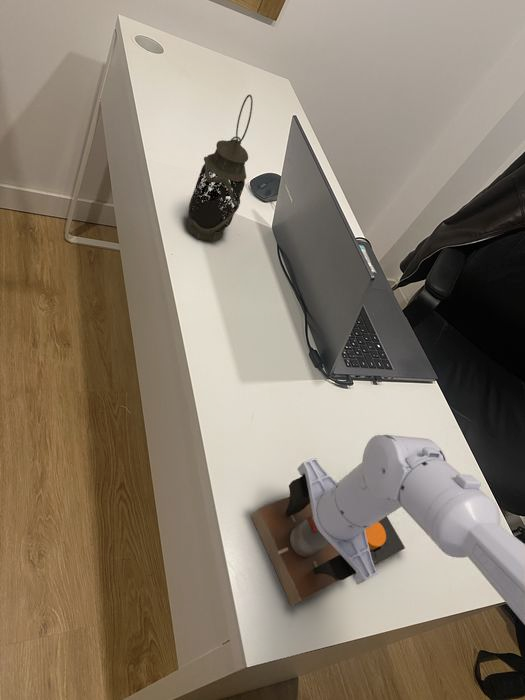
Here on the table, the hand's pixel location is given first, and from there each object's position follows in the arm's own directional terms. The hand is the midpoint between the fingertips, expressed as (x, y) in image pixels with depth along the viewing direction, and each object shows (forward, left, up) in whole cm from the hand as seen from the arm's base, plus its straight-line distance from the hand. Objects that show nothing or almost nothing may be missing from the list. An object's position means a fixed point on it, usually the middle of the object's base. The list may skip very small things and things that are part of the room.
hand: (305, 539), depth 64 cm
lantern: (+62, -13, -4) cm, 63 cm away
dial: (0, 0, -1) cm, 1 cm away
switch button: (-3, -9, 0) cm, 9 cm away
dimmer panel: (0, 0, -4) cm, 4 cm away
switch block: (-1, -11, -4) cm, 12 cm away
